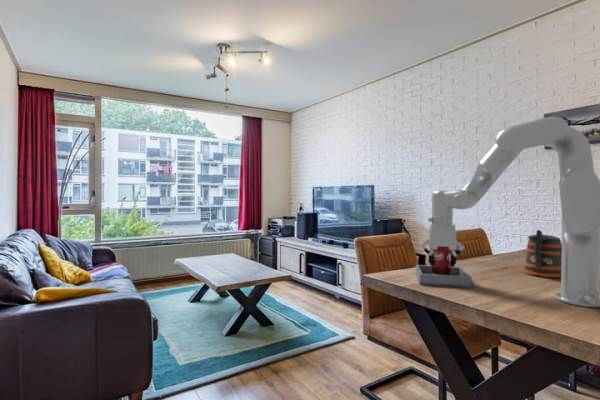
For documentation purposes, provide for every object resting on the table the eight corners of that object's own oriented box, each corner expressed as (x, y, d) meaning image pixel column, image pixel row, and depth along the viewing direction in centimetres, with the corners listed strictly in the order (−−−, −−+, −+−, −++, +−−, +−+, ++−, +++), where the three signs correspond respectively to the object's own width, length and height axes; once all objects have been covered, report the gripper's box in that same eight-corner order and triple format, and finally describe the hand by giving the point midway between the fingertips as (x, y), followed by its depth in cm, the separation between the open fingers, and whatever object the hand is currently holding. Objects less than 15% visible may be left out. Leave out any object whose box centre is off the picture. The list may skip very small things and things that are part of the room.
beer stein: (562, 282, 132) (563, 232, 132) (518, 276, 142) (519, 229, 141) (566, 274, 146) (567, 228, 146) (526, 269, 156) (527, 226, 155)
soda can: (448, 273, 137) (448, 243, 137) (454, 277, 130) (454, 246, 130) (429, 272, 138) (430, 243, 138) (435, 276, 131) (435, 246, 131)
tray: (471, 288, 123) (471, 277, 123) (419, 284, 128) (419, 274, 128) (460, 276, 141) (460, 267, 141) (415, 274, 145) (415, 264, 145)
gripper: (420, 221, 132) (419, 266, 132) (468, 222, 128) (467, 268, 128) (418, 220, 140) (418, 262, 140) (463, 221, 135) (463, 264, 135)
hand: (441, 265), depth 134 cm, fingers closed on soda can, 7 cm apart
